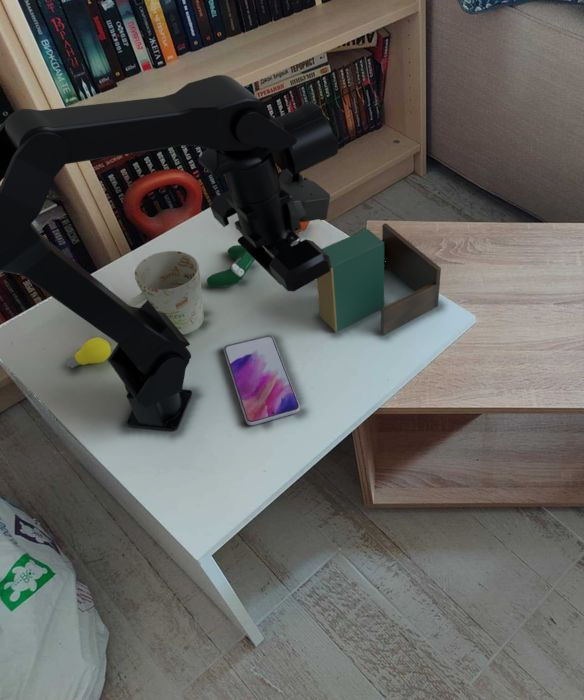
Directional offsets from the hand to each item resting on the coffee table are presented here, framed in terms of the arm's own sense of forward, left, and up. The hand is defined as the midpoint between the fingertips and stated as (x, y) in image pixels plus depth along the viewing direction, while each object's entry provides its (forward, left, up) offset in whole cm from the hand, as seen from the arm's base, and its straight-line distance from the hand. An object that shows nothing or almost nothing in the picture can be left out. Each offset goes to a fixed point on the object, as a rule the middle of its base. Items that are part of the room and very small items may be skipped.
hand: (282, 282), depth 90 cm
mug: (+1, +18, -12) cm, 22 cm away
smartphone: (-8, +3, -12) cm, 15 cm away
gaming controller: (+14, +12, -12) cm, 22 cm away
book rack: (+12, -12, -12) cm, 21 cm away
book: (+8, -8, -12) cm, 16 cm away
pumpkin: (+27, +7, -12) cm, 30 cm away
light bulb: (-5, +27, -11) cm, 30 cm away
